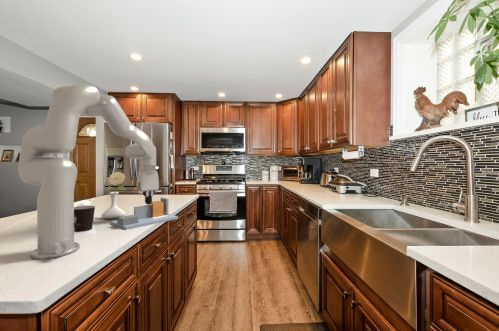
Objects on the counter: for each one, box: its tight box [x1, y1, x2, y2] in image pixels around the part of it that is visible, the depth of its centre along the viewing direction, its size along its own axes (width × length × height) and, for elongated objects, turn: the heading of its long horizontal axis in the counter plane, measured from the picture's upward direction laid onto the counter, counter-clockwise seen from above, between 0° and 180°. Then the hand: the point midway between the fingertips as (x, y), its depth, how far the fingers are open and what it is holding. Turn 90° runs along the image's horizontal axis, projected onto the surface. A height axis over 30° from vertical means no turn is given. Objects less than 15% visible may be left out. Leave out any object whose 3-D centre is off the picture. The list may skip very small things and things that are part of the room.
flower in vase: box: [101, 171, 126, 220], centre depth 128 cm, size 13×11×25 cm
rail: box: [110, 197, 179, 231], centre depth 121 cm, size 16×27×10 cm, turn 141°
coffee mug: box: [74, 205, 96, 233], centre depth 106 cm, size 12×9×10 cm
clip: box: [147, 200, 164, 217], centre depth 127 cm, size 5×6×7 cm
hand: (148, 203), depth 124 cm, fingers closed
